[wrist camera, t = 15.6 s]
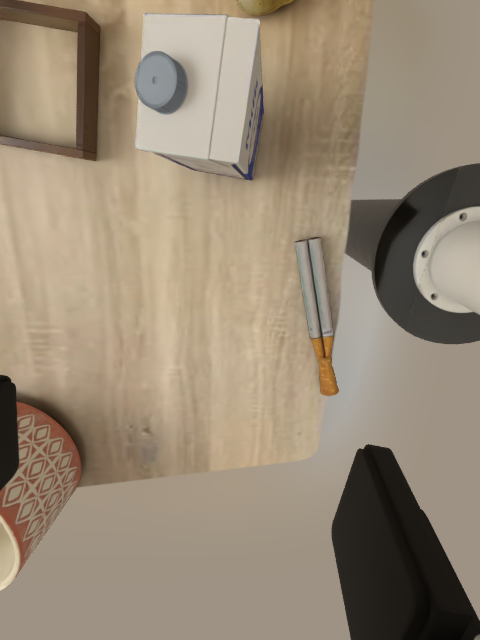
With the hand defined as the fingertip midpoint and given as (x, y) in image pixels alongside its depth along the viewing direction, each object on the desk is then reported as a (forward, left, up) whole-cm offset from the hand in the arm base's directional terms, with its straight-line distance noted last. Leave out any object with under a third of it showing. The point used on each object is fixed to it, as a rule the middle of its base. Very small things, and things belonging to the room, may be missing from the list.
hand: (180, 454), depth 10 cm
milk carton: (+4, -12, -34) cm, 37 cm away
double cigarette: (-10, +6, -31) cm, 33 cm away
